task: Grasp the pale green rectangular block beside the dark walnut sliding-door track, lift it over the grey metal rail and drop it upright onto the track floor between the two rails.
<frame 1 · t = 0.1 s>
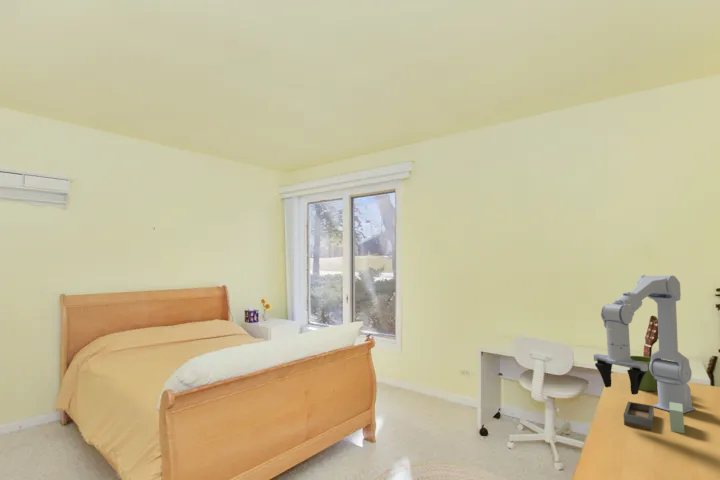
hand: (621, 390, 116), 10 cm above the table, tool pointing down, fingers open, 7 cm apart
plant pot: (645, 389, 148), on the table
pale green rectangular block: (677, 427, 112), on the table
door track: (639, 420, 118), on the table
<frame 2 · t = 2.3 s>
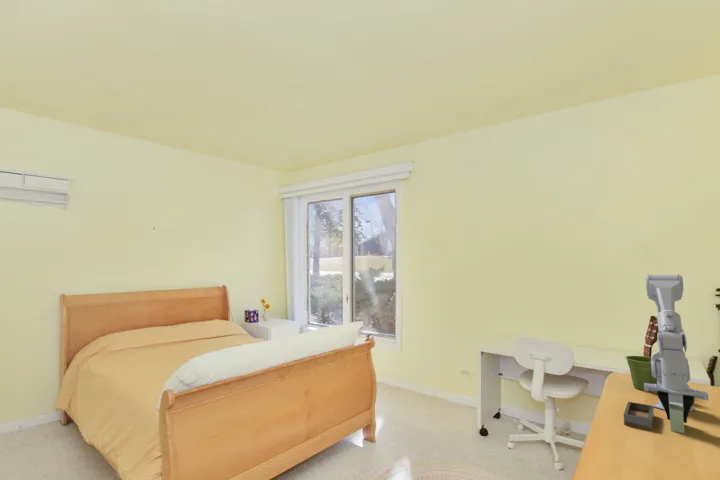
hand: (676, 420, 113), 2 cm above the table, tool pointing down, fingers closed on pale green rectangular block, 3 cm apart
pale green rectangular block: (677, 427, 112), on the table, touching gripper
everything else where it was.
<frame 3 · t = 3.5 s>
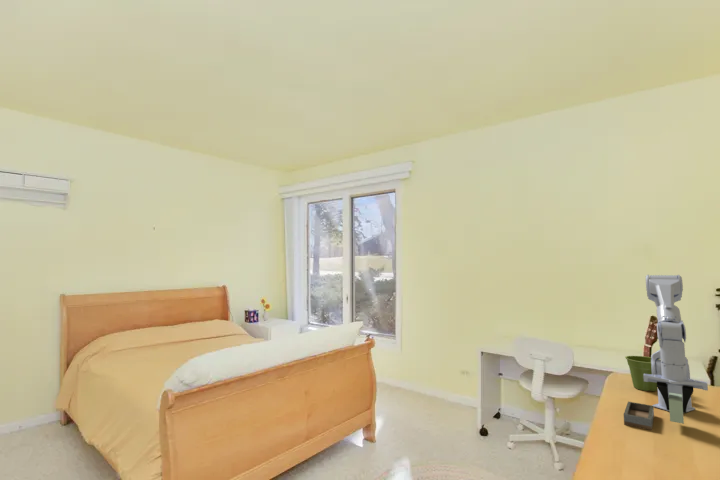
hand: (676, 410, 113), 5 cm above the table, tool pointing down, fingers closed on pale green rectangular block, 3 cm apart
pale green rectangular block: (676, 418, 113), point 3 cm above the table, touching gripper
everything else where it was.
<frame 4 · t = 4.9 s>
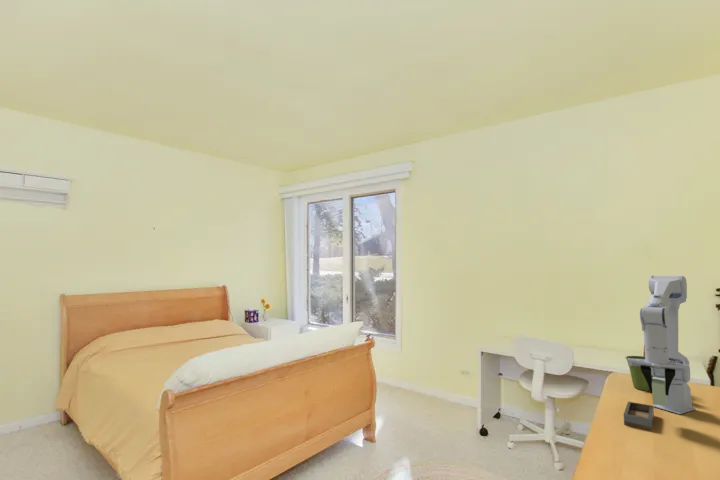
hand: (659, 393, 115), 9 cm above the table, tool pointing down, fingers closed on pale green rectangular block, 3 cm apart
pale green rectangular block: (659, 401, 115), point 7 cm above the table, touching gripper
everything else where it was.
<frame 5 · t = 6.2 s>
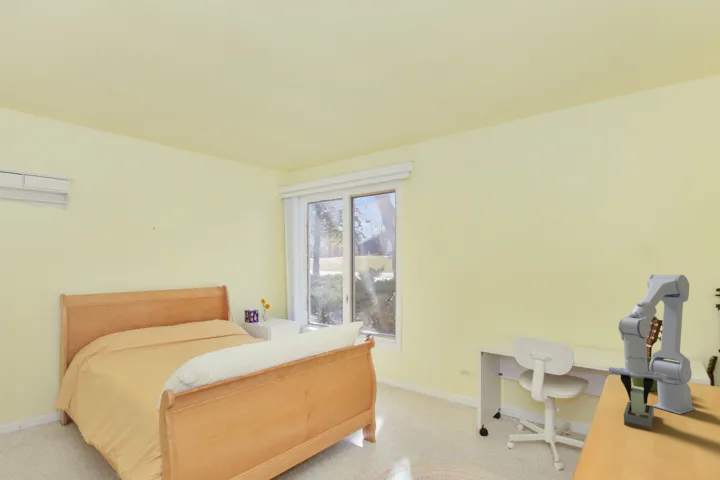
hand: (638, 401, 119), 5 cm above the table, tool pointing down, fingers closed on pale green rectangular block, 3 cm apart
pale green rectangular block: (638, 410, 118), point 3 cm above the table, touching gripper
everything else where it was.
when the fingers open (4 cm above the table, at t = 7.3 s): pale green rectangular block stays where it is, resting on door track.
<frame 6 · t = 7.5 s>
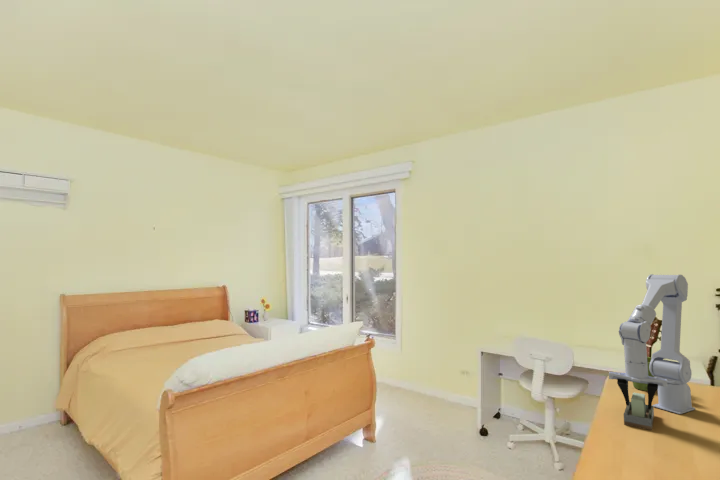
hand: (638, 406, 118), 4 cm above the table, tool pointing down, fingers open, 5 cm apart
pale green rectangular block: (639, 416, 118), point 1 cm above the table, touching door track
everything else where it was.
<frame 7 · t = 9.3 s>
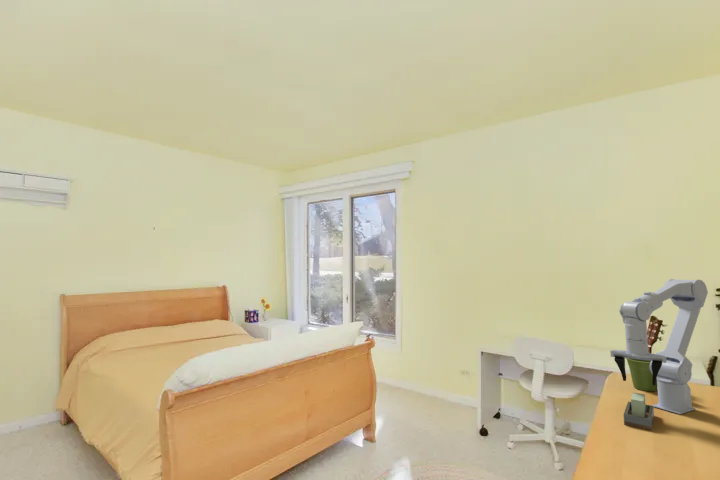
hand: (639, 382, 123), 10 cm above the table, tool pointing down, fingers open, 7 cm apart
nothing on the table moved.
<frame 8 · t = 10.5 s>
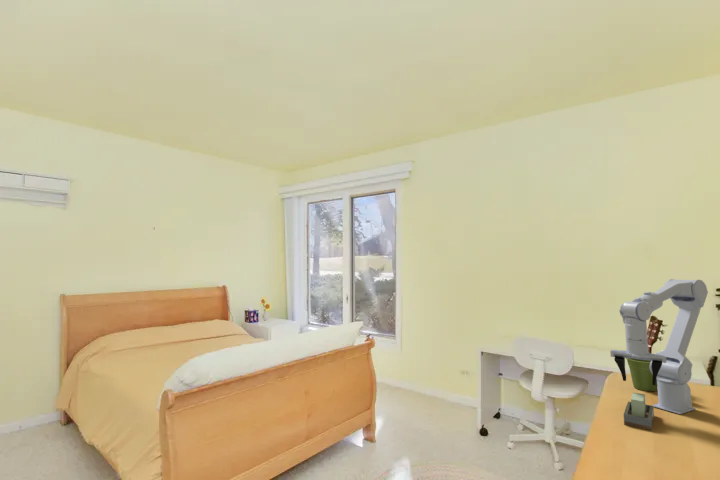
hand: (639, 382, 123), 10 cm above the table, tool pointing down, fingers open, 7 cm apart
nothing on the table moved.
at the end: pale green rectangular block 0.1 cm off-centre on the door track, point 1.0 cm above the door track's base; pale green rectangular block tilted 0°; the gripper is holding nothing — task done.
